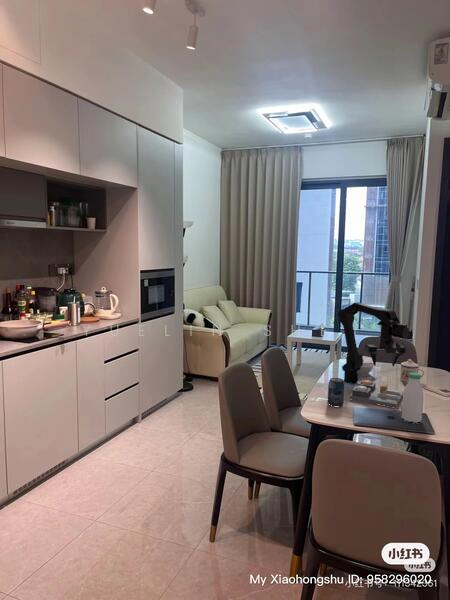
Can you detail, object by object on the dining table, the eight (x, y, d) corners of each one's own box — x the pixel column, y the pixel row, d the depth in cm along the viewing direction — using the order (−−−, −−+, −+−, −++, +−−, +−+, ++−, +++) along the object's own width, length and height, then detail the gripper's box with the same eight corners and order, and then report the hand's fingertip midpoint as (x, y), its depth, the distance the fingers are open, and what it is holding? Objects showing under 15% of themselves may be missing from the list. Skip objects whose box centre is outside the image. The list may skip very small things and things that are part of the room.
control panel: (349, 399, 203) (349, 390, 203) (358, 388, 220) (359, 379, 220) (396, 408, 193) (397, 398, 192) (402, 395, 210) (403, 386, 210)
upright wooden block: (379, 394, 204) (380, 385, 203) (381, 392, 208) (382, 383, 208) (385, 395, 203) (385, 386, 202) (387, 392, 207) (387, 384, 206)
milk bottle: (420, 425, 174) (423, 377, 172) (399, 421, 178) (403, 374, 176) (422, 419, 181) (426, 373, 179) (403, 415, 185) (406, 370, 183)
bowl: (351, 368, 258) (352, 354, 257) (378, 373, 249) (379, 358, 248) (341, 374, 245) (342, 359, 244) (370, 379, 236) (371, 364, 235)
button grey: (355, 392, 204) (356, 387, 204) (358, 390, 208) (358, 385, 208) (365, 394, 202) (365, 389, 202) (367, 391, 206) (367, 386, 205)
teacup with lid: (398, 381, 233) (400, 360, 232) (400, 377, 242) (401, 356, 240) (423, 385, 228) (424, 363, 227) (423, 380, 236) (425, 359, 235)
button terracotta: (361, 386, 214) (361, 381, 213) (363, 384, 217) (363, 379, 217) (370, 388, 211) (370, 383, 211) (372, 385, 215) (372, 380, 215)
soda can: (331, 408, 191) (332, 382, 190) (324, 402, 198) (326, 377, 197) (345, 407, 193) (347, 381, 191) (338, 402, 200) (340, 377, 198)
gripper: (373, 338, 204) (371, 370, 206) (412, 339, 205) (409, 371, 207) (365, 333, 215) (363, 363, 217) (402, 334, 216) (399, 364, 218)
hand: (383, 365), depth 214 cm, fingers open, 9 cm apart
